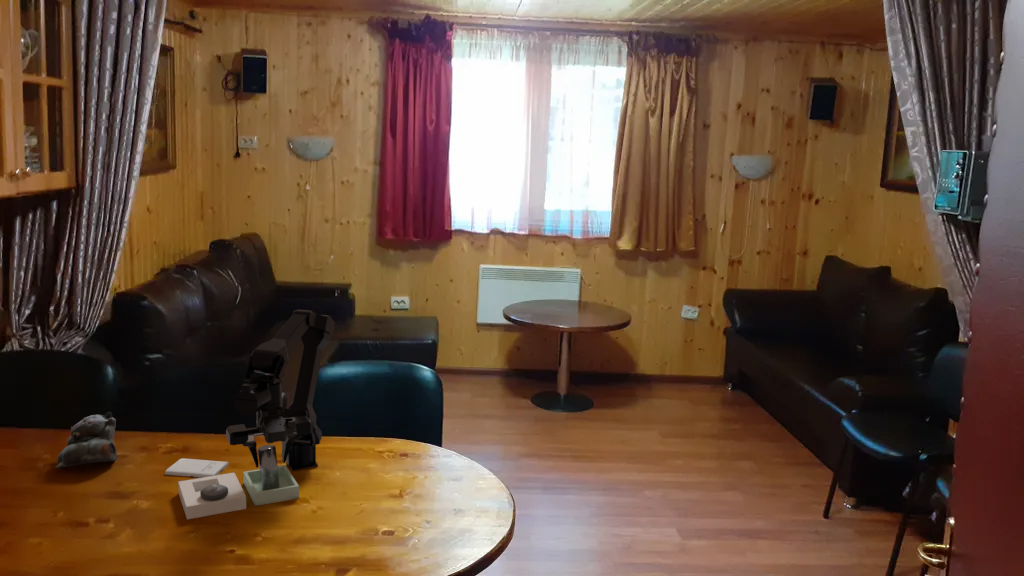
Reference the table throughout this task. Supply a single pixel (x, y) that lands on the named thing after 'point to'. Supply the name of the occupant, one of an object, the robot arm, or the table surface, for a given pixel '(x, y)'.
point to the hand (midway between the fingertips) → (270, 464)
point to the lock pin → (268, 467)
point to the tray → (283, 493)
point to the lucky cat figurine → (90, 442)
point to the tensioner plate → (211, 506)
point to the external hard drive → (196, 468)
